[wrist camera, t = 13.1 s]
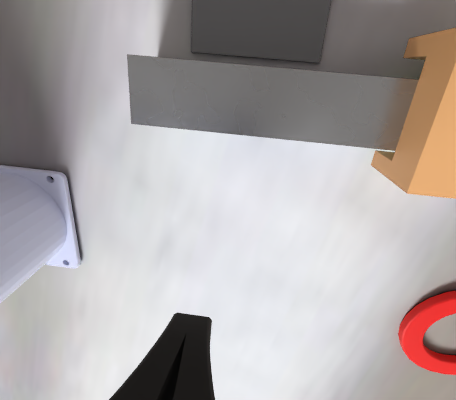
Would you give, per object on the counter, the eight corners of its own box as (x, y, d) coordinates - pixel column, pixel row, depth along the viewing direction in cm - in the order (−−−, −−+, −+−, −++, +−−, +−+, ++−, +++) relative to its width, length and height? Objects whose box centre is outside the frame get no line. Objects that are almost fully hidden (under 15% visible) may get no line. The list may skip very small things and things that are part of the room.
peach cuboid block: (371, 165, 15) (406, 193, 12) (409, 38, 13) (469, 24, 9) (447, 172, 15) (507, 204, 11) (500, 45, 13) (600, 34, 9)
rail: (158, 137, 18) (114, 165, 12) (156, 28, 15) (100, 3, 10) (465, 169, 17) (564, 215, 11) (515, 57, 14) (673, 46, 9)
